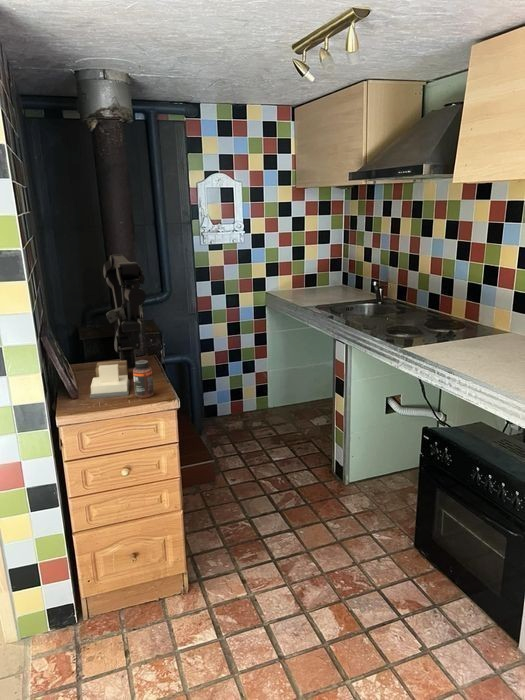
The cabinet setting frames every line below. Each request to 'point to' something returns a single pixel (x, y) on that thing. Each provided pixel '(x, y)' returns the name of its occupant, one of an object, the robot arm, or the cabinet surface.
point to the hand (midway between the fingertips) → (134, 343)
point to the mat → (113, 394)
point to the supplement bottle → (143, 379)
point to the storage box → (121, 364)
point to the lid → (109, 380)
